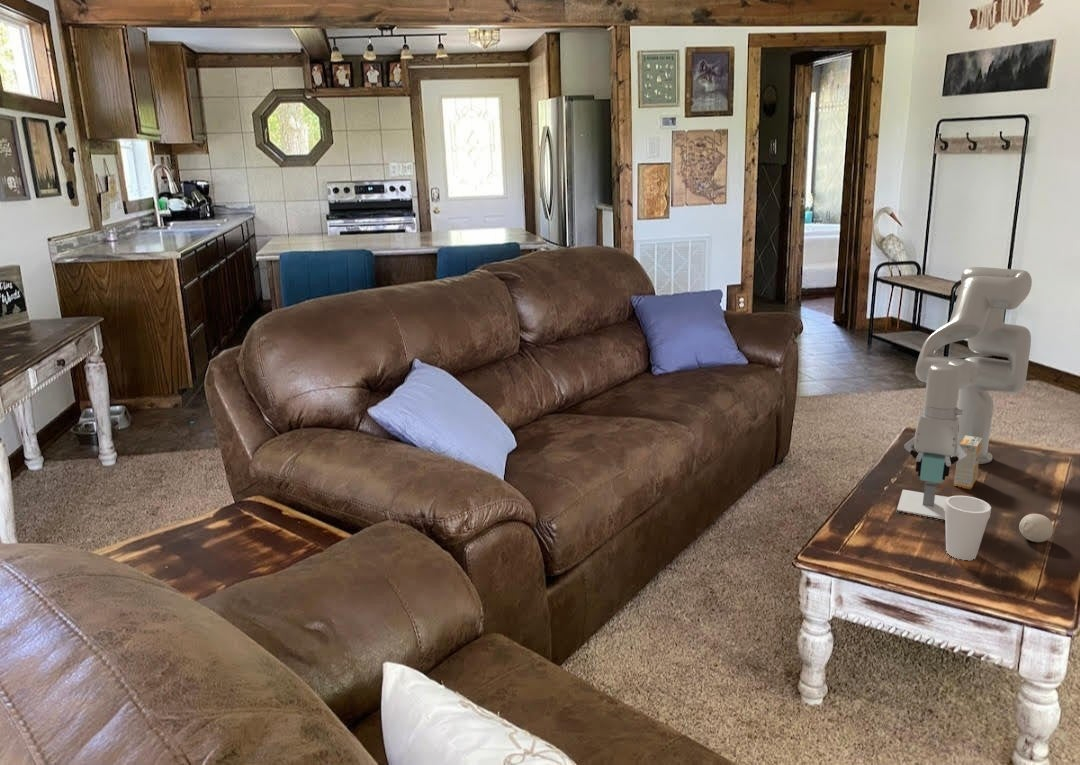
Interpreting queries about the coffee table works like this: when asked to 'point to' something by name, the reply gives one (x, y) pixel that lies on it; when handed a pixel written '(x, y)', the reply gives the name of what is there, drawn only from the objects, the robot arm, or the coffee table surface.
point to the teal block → (932, 467)
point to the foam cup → (965, 525)
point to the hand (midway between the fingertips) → (931, 475)
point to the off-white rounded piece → (1036, 527)
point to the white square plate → (923, 502)
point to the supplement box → (968, 462)
